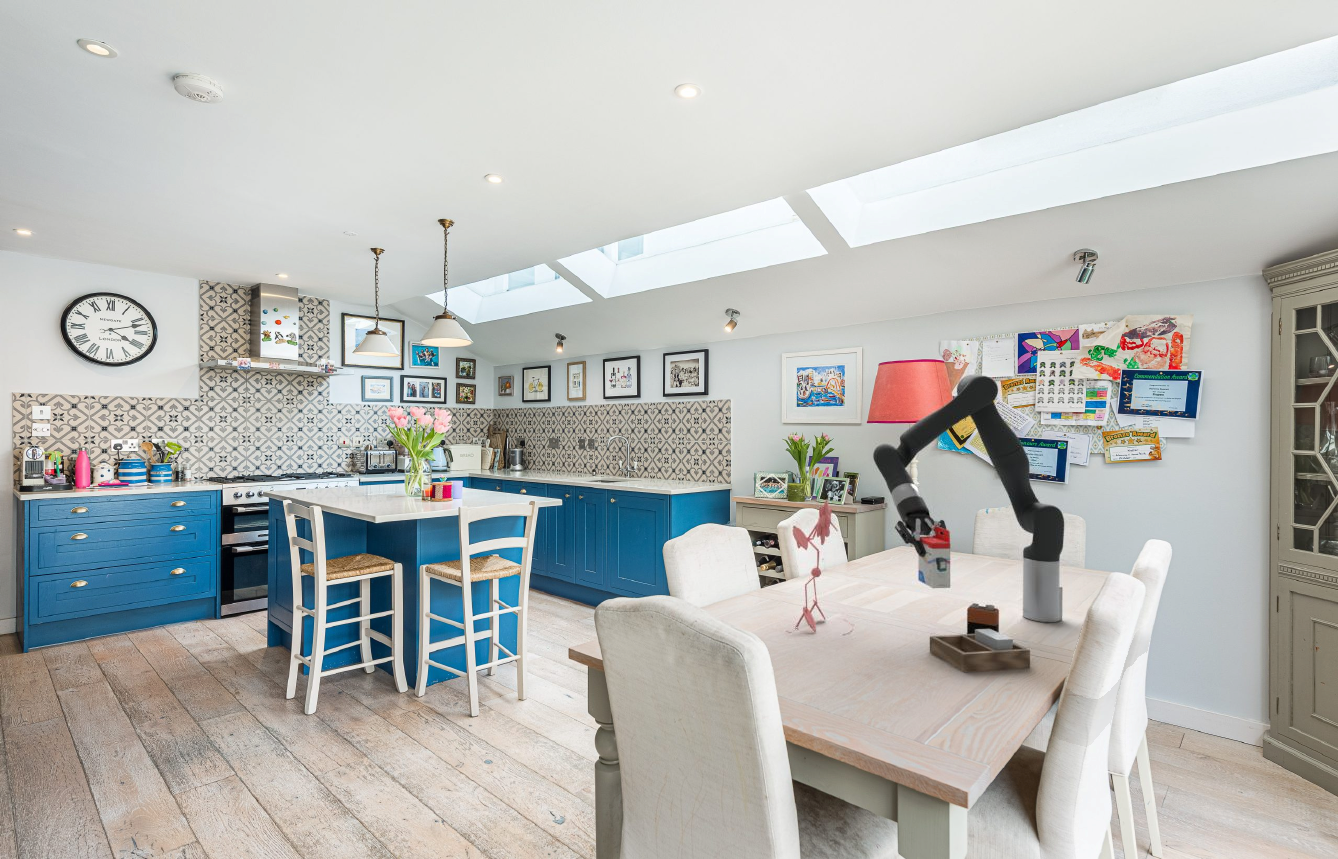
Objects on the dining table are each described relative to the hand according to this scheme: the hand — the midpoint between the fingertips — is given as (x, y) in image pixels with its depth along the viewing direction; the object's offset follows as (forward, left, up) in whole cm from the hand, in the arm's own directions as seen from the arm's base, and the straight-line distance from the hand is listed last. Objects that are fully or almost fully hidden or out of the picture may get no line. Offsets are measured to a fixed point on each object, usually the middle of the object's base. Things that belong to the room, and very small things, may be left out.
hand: (934, 554), depth 169 cm
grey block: (-5, +16, -22) cm, 28 cm away
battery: (-10, +6, -22) cm, 25 cm away
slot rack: (-1, +16, -22) cm, 27 cm away
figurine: (+24, -14, -22) cm, 35 cm away
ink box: (0, 0, -8) cm, 8 cm away
